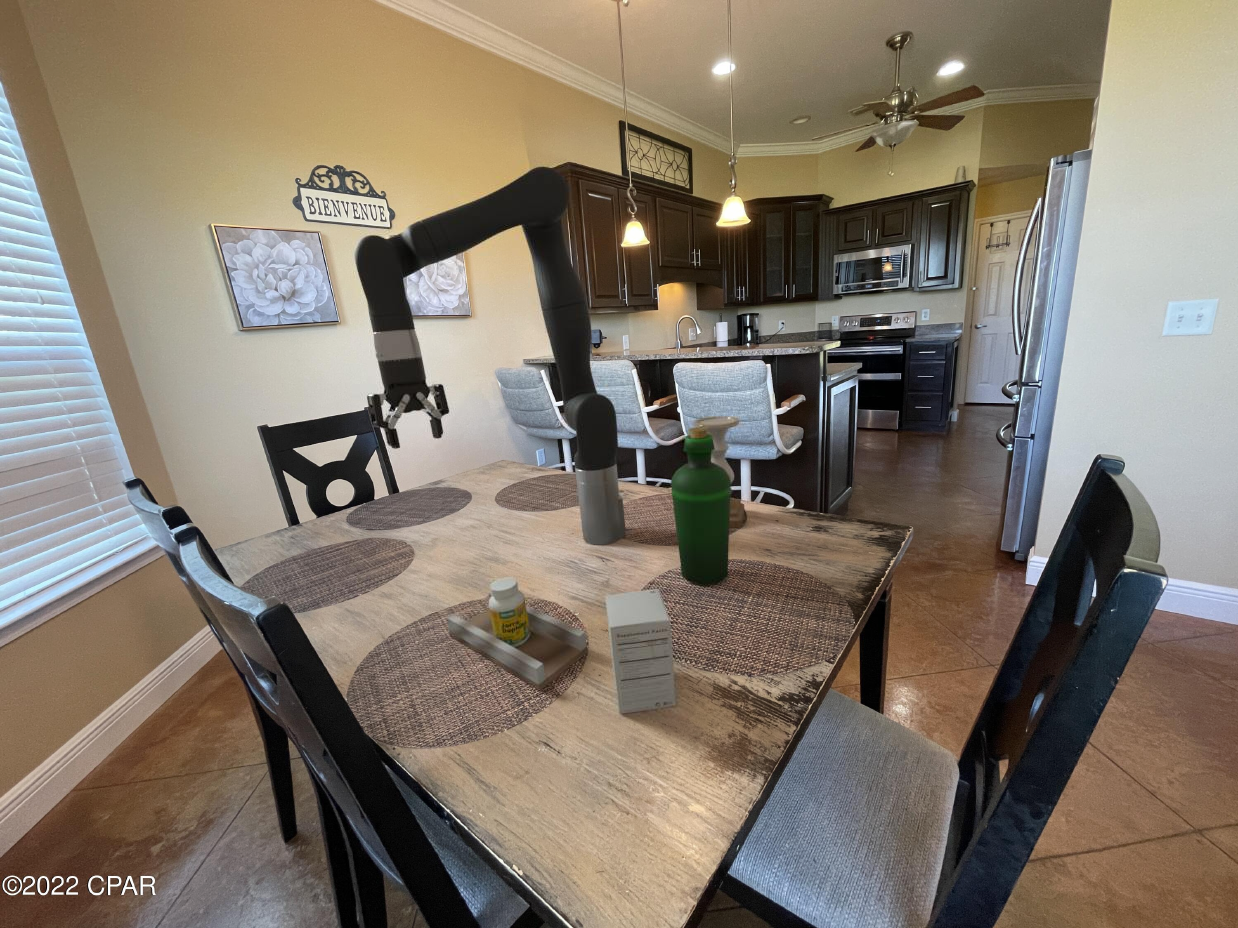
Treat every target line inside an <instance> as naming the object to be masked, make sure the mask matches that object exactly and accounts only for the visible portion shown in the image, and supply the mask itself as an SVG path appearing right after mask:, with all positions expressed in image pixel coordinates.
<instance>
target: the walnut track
mask: <svg viewBox="0 0 1238 928" xmlns="http://www.w3.org/2000/svg"><path fill="white" fill-rule="evenodd" d="M491 597H492V595H491V592H489V593H488V599H489V600H490V598H491ZM526 609H527V616H528V621H529V627H530V636H529V638H528V639H527V641H526V642H525V643H523V644H522V645H520V646H517V647H512V646H510V645H508V644H506V643H505V642H503V641H501V640H499V639H497V638H496V637H495V635H494V630H493V625H492V619H491V614H490V609H489V607H488V608H486V609H484V610H483V611H481V612H479V613H477V614H476V615H474V616H473V617H471V618H469V619H468V620H467V619H466V620H465V619H463V618H462V617H459V616H457V615H455V614H454V613H452V614H450V615H448V616H446V623H447V627H448V632H449V637H451V638H452V639H454V640H456V641H457V642H458V643H461V644H462V645H464V646H466V648H469V649H470V650H472V651H474V652H475V653H477V654H479V655H480V656H481V657H483V658H485V659H487V660H488V661H490V662H492V663H493V664H495V665H497V666H498V667H500V668H501V669H503V670H505V671H507V672H508V673H510V674H511V675H513V676H515V677H516V678H518V679H520V680H521V681H523V682H525V683H526V684H528V685H529V686H531V687H532V688H535V689H536V690H538V691H539V692H540V691H542V690H543V689H544V688H545V687H547V686H548V685H549V684H550V683H551V682H553V681H554V680H555V679H556V678H558V677H559V676H560V675H562V673H564V672H565V671H567V669H569V668H571V666H573V665H574V664H575V663H576V662H578V661H579V660H580V659H581V658H582V657H584V656H585V655H586V654H588V647H587V637H586V632H585V631H584V630H581V629H579V628H577V627H575V626H573V625H570V624H569V623H566V622H563V621H561V620H560V619H557V618H556V617H553V616H551V615H548V614H546V613H544V612H542V611H540V610H539V609H536V608H533V607H531V606H529V605H526Z"/></svg>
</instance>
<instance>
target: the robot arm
mask: <svg viewBox="0 0 1238 928" xmlns="http://www.w3.org/2000/svg"><path fill="white" fill-rule="evenodd" d="M569 202H570V189H569V185H568V183H567V181H566V179H565V178H564V176H563V175H562V174H561V173H560V172H559V171H557V170H556V169H554V168H552V167H549V166H537V167H534V168H532V169H529V171H527V172H526V173H524V174H523V175H521V176H519V177H518V178H516V179H514V180H513V181H511V182H510V183H508V184H506V185H504V186H503V187H501V188H499V189H497V190H495V191H493V192H490V193H488V194H487V195H485V196H483V197H481V198H478V199H474V200H472V201H470V202H467V203H464V204H462V205H460V206H456V207H453V208H451V209H448V210H445V211H442V212H439V213H437V214H434V215H432V216H429V217H426V218H423V219H421V220H418V221H416V222H414V223H412V224H410V225H408V226H407V227H406V229H405V230H404V231H402V232H400V233H398V234H396V235H392V236H391V237H388V238H386V237H384V236H381V235H376V234H372V235H367V236H363V237H362V238H361V239H360V240H359V241H358V242H356V243H357V244H356V245H355V247H354V253H353V254H354V262H355V266H356V271H357V273H358V278H359V280H360V284H361V287H362V291H363V293H364V295H365V299H366V302H367V307H368V308H367V309H368V315H369V320H370V325H371V329H372V333H373V345H374V351H375V357H376V360H377V363H378V368H379V373H380V377H381V382H382V385H383V389H384V390H383V393H378V394H377V393H368V394H366V400H367V406H368V412H369V417H370V422H371V426H372V427H375V428H381V429H383V430H384V434H385V438H386V439H385V440H386V444H387V445H388V446H389V447H391V448H392V449H395V450H396V449H400V448H401V444H400V440H399V435H398V430H397V428H396V425H397V423H398V420H399V419H400V418H401V417H402V414H409V413H412V412H420V411H422V412H424V413H425V414H426V415H427V416H428V417H429V418H430V419H429V423H430V424H429V425H430V428H431V435H432V438H433V439H438V440H439V439H442V436H443V434H444V429H443V424H442V418H443V417H444V416H445V415H448V414H449V413H450V408H449V404H448V401H447V397H446V391H445V387H444V385H443V384H442V383H433V384H432V385H430V386H429V385H428V384H427V376H426V372H425V366H424V365H425V364H424V361H423V356H422V350H421V346H420V345H421V344H420V341H419V338H418V335H417V331H416V328H415V323H414V317H413V312H412V309H411V305H410V302H409V300H408V298H407V293H406V287H405V281H404V279H405V278H406V277H409V276H411V275H412V274H414V273H416V272H419V271H420V270H422V269H424V268H425V267H428V266H430V265H434V264H437V263H440V262H443V261H445V260H447V259H450V258H453V257H456V256H457V255H459V254H462V253H465V252H466V251H469V250H470V249H472V248H475V247H477V246H478V245H480V244H482V243H483V242H485V241H487V240H489V239H491V238H493V237H494V236H497V235H499V234H500V233H503V232H505V231H507V230H511V229H513V228H515V227H519V226H521V228H522V232H523V234H524V237H525V240H526V243H527V246H528V249H529V252H530V256H531V260H532V265H533V271H534V276H535V283H536V287H537V292H538V293H537V294H538V297H539V302H540V308H541V312H542V316H543V317H542V318H543V321H544V325H545V329H546V332H547V336H548V340H549V343H550V348H551V351H552V355H553V359H554V362H555V364H556V369H557V372H558V373H557V374H558V377H559V381H560V383H559V384H560V390H561V398H562V404H563V413H564V416H565V421H566V422H567V423H568V426H569V427H570V428H571V429H572V430H573V431H575V434H576V444H577V445H576V447H577V451H576V453H574V457H573V462H574V470H575V477H576V485H577V495H578V496H577V497H578V503H579V513H580V521H581V522H580V523H581V529H582V537H583V540H584V541H585V542H586V543H588V544H590V545H591V544H592V545H607V544H611V543H614V542H618V541H619V540H620V539H622V538H624V537H626V536H627V531H626V530H627V529H626V521H625V520H626V519H625V511H624V509H625V508H624V500H623V499H624V498H623V496H621V495H620V488H619V478H618V477H619V476H618V467H617V453H618V449H619V440H618V437H619V436H618V422H617V420H618V419H617V414H616V408H615V406H614V404H613V403H612V401H611V400H610V399H609V398H608V397H607V396H605V395H603V394H600V393H598V391H597V387H596V386H595V385H596V384H595V381H594V377H593V373H592V368H591V348H592V323H591V317H590V313H589V312H590V310H589V307H588V302H587V299H586V295H585V291H584V289H583V286H582V283H581V281H580V278H579V276H578V275H577V273H576V270H575V268H574V266H573V264H572V261H571V260H570V258H569V254H568V251H567V247H566V243H565V236H564V231H563V222H562V216H564V214H565V213H566V211H567V208H568V206H569ZM429 395H431V396H432V397H433V399H434V403H435V405H434V404H433V403H432V402H430V400H429V399H428V397H429ZM384 400H385V401H384ZM385 402H387V403H388V404H389V407H388V408H387V411H386V412H385V416H384V413H383V408H382V406H383V405H384V403H385ZM384 417H385V418H384Z"/></svg>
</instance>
